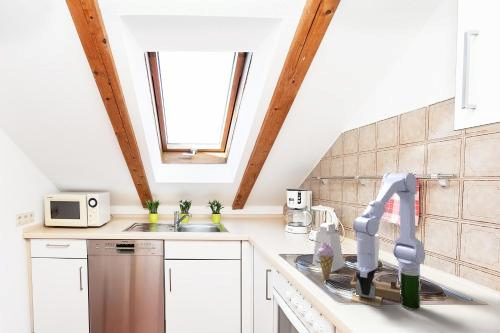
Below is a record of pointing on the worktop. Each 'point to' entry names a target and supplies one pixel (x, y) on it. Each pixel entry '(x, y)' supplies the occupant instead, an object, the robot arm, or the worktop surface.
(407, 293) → the beer can
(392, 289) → the body
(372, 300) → the cork trivet
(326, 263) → the ice cream cone
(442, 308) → the worktop surface
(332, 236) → the grater
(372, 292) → the grey block with knob
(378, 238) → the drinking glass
